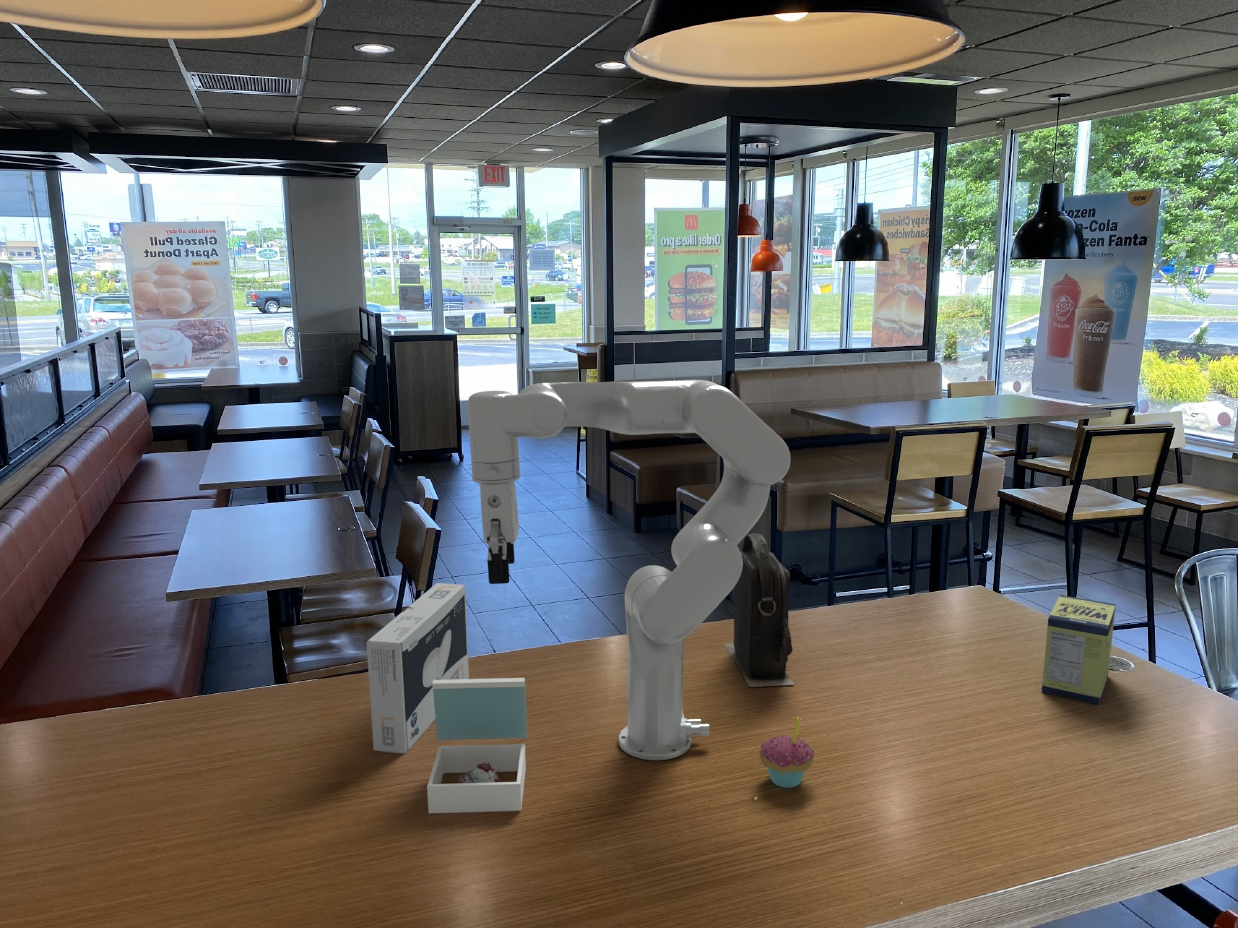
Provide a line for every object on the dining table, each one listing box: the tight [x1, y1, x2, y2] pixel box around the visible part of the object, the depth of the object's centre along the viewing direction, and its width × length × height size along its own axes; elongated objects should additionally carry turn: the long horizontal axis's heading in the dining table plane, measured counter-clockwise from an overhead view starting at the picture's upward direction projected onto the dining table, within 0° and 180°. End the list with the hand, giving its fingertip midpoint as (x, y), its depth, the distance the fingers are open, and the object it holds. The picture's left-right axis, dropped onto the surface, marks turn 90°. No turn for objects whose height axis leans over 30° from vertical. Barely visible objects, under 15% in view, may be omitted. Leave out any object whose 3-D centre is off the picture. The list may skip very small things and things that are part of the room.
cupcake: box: [758, 713, 815, 789], centre depth 146 cm, size 9×8×12 cm
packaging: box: [366, 582, 470, 755], centre depth 169 cm, size 30×6×20 cm, turn 168°
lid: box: [432, 677, 528, 741], centre depth 148 cm, size 15×11×1 cm
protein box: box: [1041, 594, 1117, 706], centre depth 180 cm, size 10×16×16 cm
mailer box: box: [426, 743, 527, 814], centre depth 145 cm, size 14×12×4 cm
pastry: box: [454, 763, 501, 784], centre depth 144 cm, size 8×8×5 cm
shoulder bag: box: [723, 532, 795, 688], centre depth 189 cm, size 23×9×28 cm, turn 6°
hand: (502, 572), depth 148 cm, fingers open, 9 cm apart
